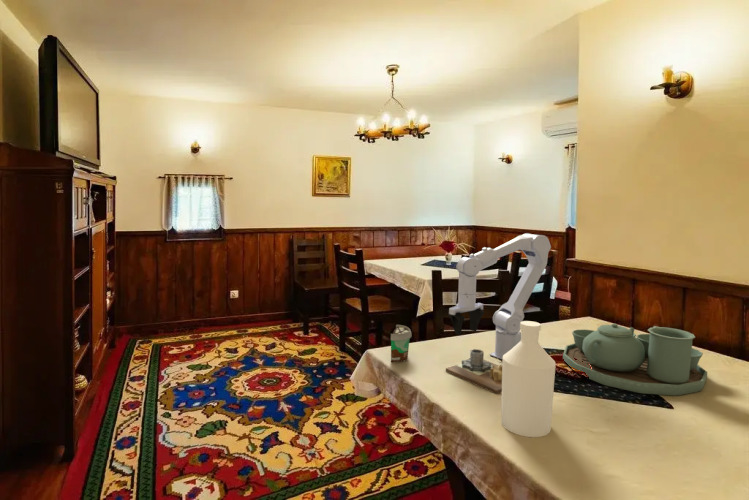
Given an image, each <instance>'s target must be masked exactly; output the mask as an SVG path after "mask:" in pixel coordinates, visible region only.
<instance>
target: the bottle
mask: <svg viewBox="0 0 749 500" xmlns="http://www.w3.org/2000/svg"><path fill="white" fill-rule="evenodd" d="M541 330H542V327H541V323H539V322H537V321H531V320H523V321H522V322H520V332H521V341H520V342H519V343H518V344H517V345H516V346H514V347H513V348H512V349H511V350H510V351H508V352H507V353H506V354H504V355H503V360H502V364H501V365H502V392H501V411H500V413H501V415H500V424H501V425H502V426H503V428H505V430H507V431H509V432H511V433H513V434H514V435H515V434H516V435H518V436H522V437H527V438H528V437H529V438H540V437H545V436H547V435H548V434H549V433H550V432H551V429H552V428H551V427H552V414H553V402H554V388H555V378H556V377H555V376H556V375H555V374H556V366H557V365H556V361H555V360H554V359H553V358H552V357H551V356H550V355H549V354H548V353H547V351H546V350H545V349H544V348H543V347H542V345H541V344H540V343H539V336H540V335H539V334H540V331H541Z"/></svg>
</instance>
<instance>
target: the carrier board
mask: <svg viewBox="0 0 749 500" xmlns="http://www.w3.org/2000/svg"><path fill="white" fill-rule="evenodd" d="M483 360H484V361H486V362H490V363H491V366H492V368H490V370H486V371H485V372H481V371H473V372H472V371H470V370H469V369H466V368H462V363H459V364H456V365H451V366H449V367H445V372H447V373H449V374H452V375H453V376H455V377H458V378H461V379H462V380H465V381H467V382H470V383H472V384H474V385H476V386H477V387H480V388H482V389H485V390H487V391H490V392H491V393H493V394H496V395H497V394H498V395H499V394H502V365H503V364H496V363H494V362H491V361H489V360H485V359H483Z"/></svg>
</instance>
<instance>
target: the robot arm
mask: <svg viewBox="0 0 749 500" xmlns="http://www.w3.org/2000/svg"><path fill="white" fill-rule="evenodd" d="M551 248H552V246H551V243H550V240H549V237H547V236H546V235H544V234H535V233H534V234H532V233H529V232H526V233H523V234H520V235H517V236H516V237H514V238H513V239H511V240H509V241H506V242H505V243H503V244H501V245H499V246H497V247H495V248H491V247H482V248H481V251H478V252H476V253H471V254H469V257H467V256H463V257H461V258H459V260H458V262H457V264H456V265H455V267H456V270H457V272H458V291H457V293H458V295H457V296H458V299H457V303H456V305H455V306H452V307H449V308H448V317H449V319H450V320H451V321H450V322H452V327H453V330H454V331H453V332H454V334H455V335H458V336H461V335H462V332H463V331H462V330H463V323H464V321H465V317H466V316H465V315H462V313H467V312H468V315H469V317H468V318H469V328H470V329H469V330H470V331H472V332H477V330H478V327H479V324H480V321H481V319H482V317H483V316H484V313H485V312H484V303H481V302H477V303H476V300H477V299H476V298H477V295H476V293H477V275H478V274H479V273H480V271H481V270H484V269H486V268H488V267H490V266H493V265H494V264H497V262H498V259H499V258H501V257H504V256H508V255H510V254H512V253H514V252H518V251H522V252H523V253H524V255H525V256H526V259H527V261H528V264H527V265H526V267H525V269H524V270H523V273H522V275H521V277H520V279H519V280H518V282H517V284H516V286H515V288H514V290H513V291H512V293H511V295H510V296H509V299H508V301H507V302H505V303H503V304H502V305H500V307H499V309H498V310H496V311H495V312H494V314H493V316H492V322H493V324H494V325H495V342H494V343H495V345H494V352H491V353H489V356H491V357H494V358H497V359H498V360H502V361H503V355H504V354H506V353H507V352H508V351H510V350H511V349H512V348H513V347H514V346H516V345H517V344H518V343H519V342H520V341H521V329H520V322H522V321H524V318H525V314H524V311H523V310H524V308H525V306H526V304H527V302H528V300H529V298H530V297H531V295H532V293H533V291H534V289H535V288H536V286H537V284H538V282H539V280H540V278H541V276H542V274H544V273H543V272H544V270H545V269H546V267H547V266H548V265H547V264H548V258H549V257H548V256H549V252H550V251H551Z"/></svg>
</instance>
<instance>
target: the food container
mask: <svg viewBox="0 0 749 500" xmlns="http://www.w3.org/2000/svg"><path fill="white" fill-rule="evenodd" d="M411 338H412V331H411V329H410V328H409V327H408V326H406V325H402V324H396V325H395V329H394V330H393V333H390V362H391V363H401V362H405V361H407V360H408V358H409V349H410V348H409V347H410V339H411Z"/></svg>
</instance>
